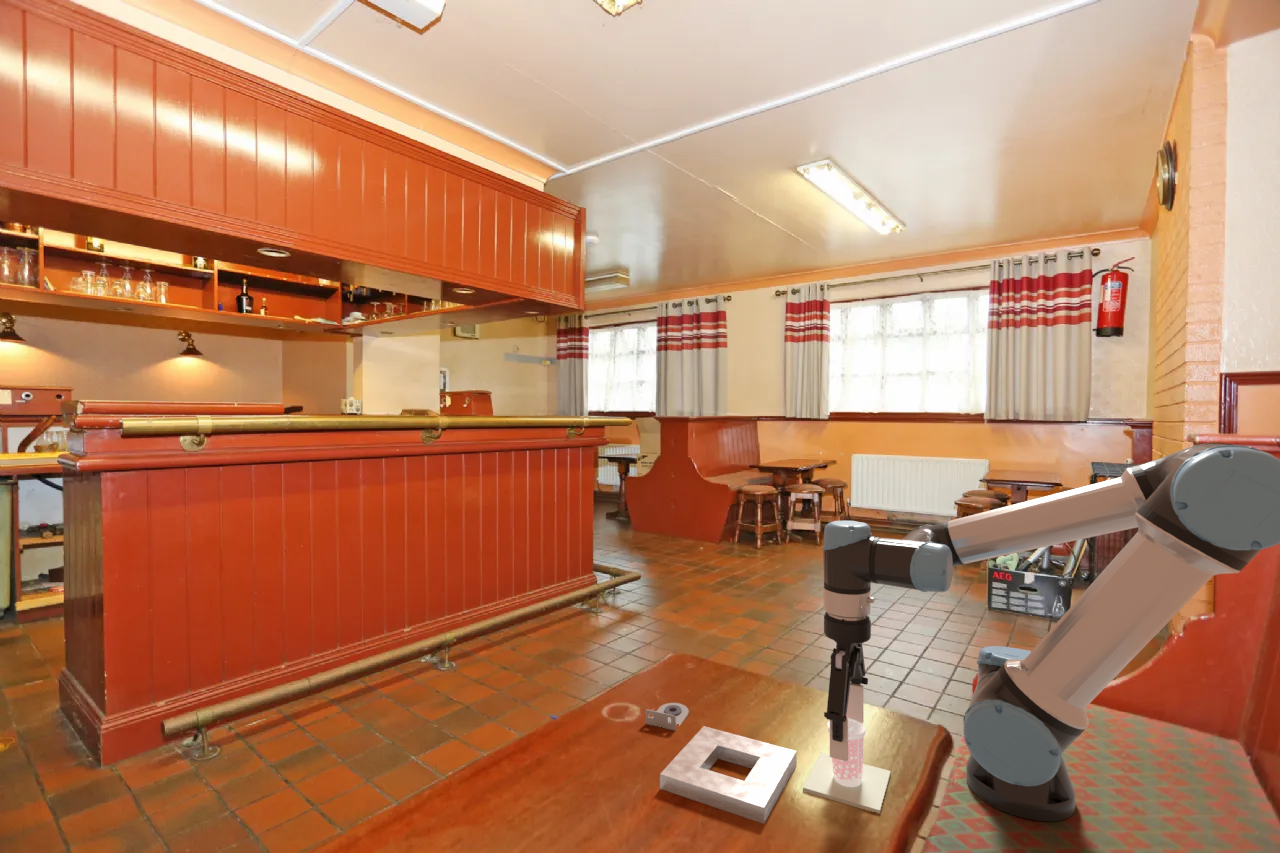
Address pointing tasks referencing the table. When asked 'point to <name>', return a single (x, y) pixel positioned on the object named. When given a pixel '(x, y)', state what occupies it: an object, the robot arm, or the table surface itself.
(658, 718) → the bracket
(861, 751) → the beverage cup
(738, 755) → the white square frame
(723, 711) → the table surface
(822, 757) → the beige pad
